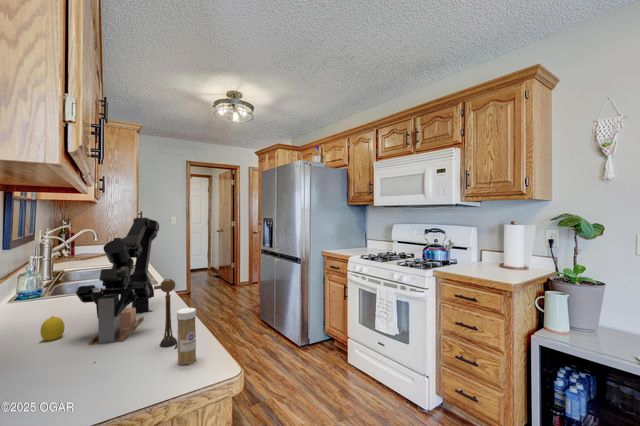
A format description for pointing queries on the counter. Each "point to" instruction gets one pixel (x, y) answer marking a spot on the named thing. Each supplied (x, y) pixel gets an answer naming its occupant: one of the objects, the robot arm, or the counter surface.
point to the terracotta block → (127, 317)
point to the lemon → (52, 328)
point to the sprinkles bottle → (186, 336)
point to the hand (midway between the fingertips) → (107, 317)
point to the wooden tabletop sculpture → (167, 314)
